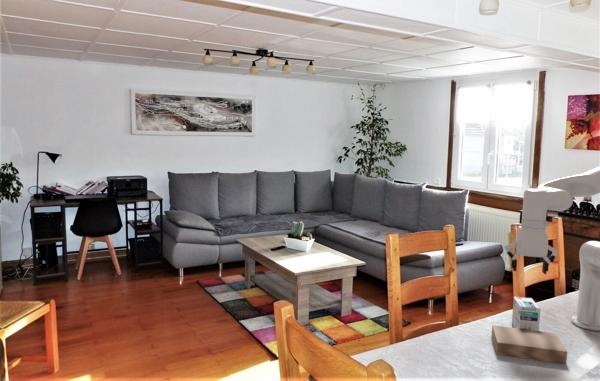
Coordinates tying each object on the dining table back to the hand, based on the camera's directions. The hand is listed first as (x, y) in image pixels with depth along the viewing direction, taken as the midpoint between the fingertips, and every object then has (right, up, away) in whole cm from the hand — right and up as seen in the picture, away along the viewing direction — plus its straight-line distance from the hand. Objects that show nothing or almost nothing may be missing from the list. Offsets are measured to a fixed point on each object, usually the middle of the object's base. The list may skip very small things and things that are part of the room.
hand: (529, 271), depth 165 cm
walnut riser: (-7, -24, -12) cm, 27 cm away
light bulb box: (0, -22, +3) cm, 22 cm away
